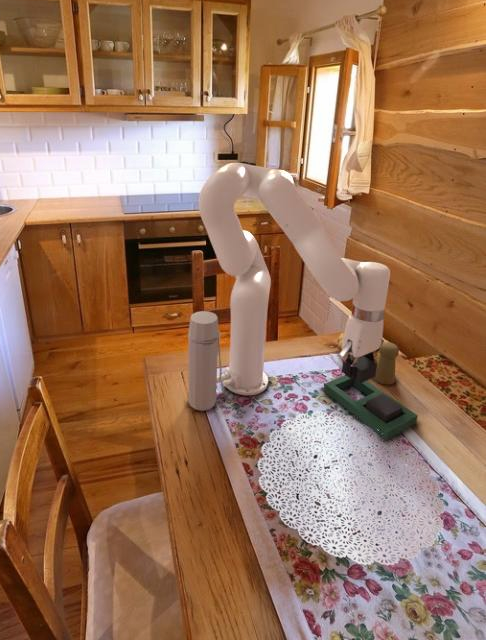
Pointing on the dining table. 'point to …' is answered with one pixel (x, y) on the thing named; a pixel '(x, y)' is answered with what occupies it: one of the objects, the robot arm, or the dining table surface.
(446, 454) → the dining table surface
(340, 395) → the green rectangular frame
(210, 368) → the water bottle
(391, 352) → the pepper mill
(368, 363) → the pad
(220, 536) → the dining table surface
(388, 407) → the pad
